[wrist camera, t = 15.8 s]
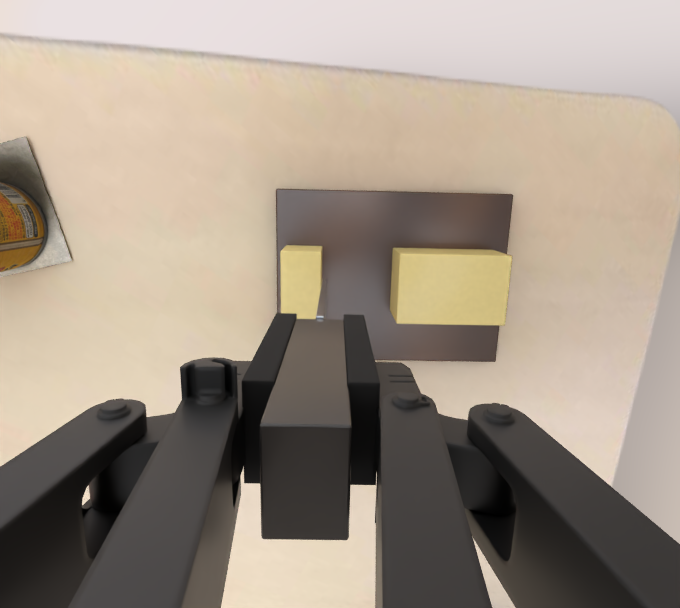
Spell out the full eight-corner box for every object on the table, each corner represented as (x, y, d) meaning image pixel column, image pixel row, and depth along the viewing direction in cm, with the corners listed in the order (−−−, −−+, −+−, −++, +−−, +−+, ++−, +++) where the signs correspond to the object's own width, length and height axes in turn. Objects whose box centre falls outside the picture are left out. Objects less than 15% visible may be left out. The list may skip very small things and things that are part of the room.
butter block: (493, 249, 32) (512, 255, 28) (487, 312, 33) (505, 325, 29) (392, 247, 31) (399, 253, 28) (389, 310, 32) (396, 324, 29)
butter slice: (322, 245, 31) (321, 251, 28) (321, 309, 32) (320, 322, 29) (285, 245, 31) (280, 250, 28) (286, 308, 32) (280, 321, 29)
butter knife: (341, 278, 24) (352, 421, 9) (340, 329, 25) (348, 545, 9) (308, 278, 24) (258, 419, 9) (307, 328, 25) (260, 544, 9)
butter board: (507, 194, 32) (513, 194, 31) (491, 357, 34) (495, 362, 33) (277, 189, 31) (275, 188, 30) (279, 354, 34) (277, 358, 33)
